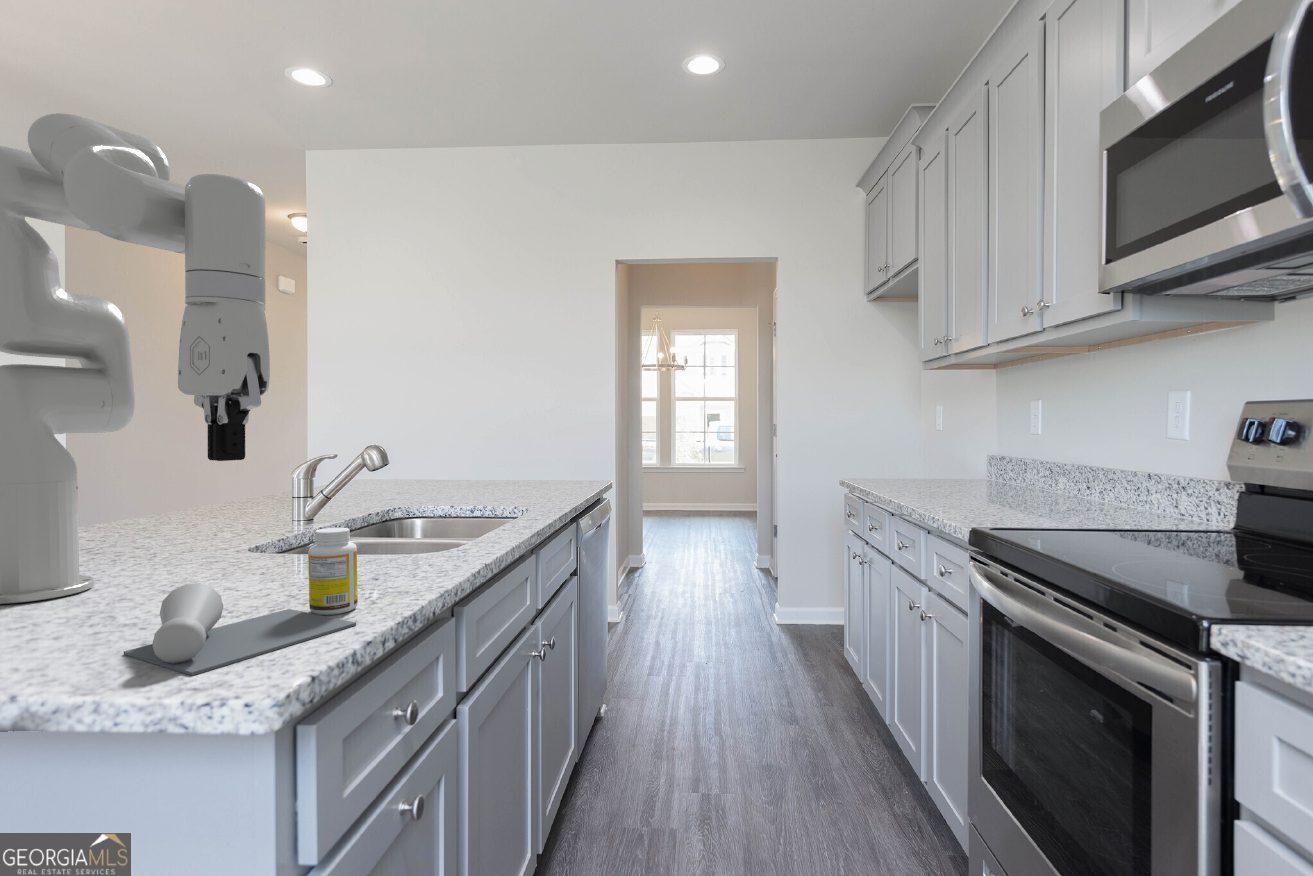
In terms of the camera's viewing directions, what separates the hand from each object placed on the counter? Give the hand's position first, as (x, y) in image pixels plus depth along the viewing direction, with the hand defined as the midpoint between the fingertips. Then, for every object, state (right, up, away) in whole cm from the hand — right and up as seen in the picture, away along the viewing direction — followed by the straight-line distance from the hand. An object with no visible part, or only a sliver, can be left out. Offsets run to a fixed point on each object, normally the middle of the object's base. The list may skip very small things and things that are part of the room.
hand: (226, 459), depth 77 cm
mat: (+3, -20, -1) cm, 20 cm away
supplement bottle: (+7, -20, +10) cm, 23 cm away
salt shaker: (-4, -16, +1) cm, 17 cm away
